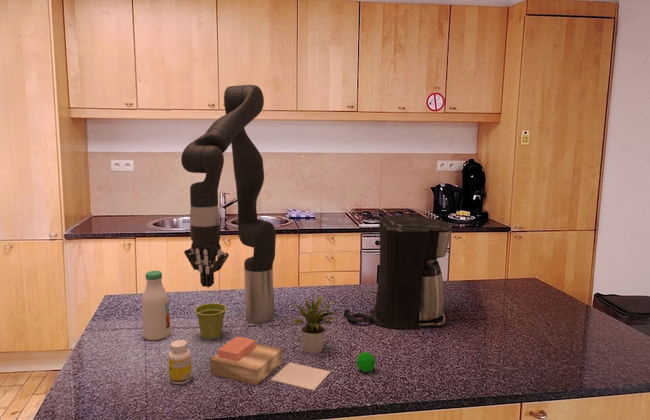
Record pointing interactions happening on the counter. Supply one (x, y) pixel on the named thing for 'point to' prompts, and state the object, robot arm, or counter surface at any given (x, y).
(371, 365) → the polyhedron
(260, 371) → the wooden block
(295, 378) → the mat
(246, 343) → the salmon orange flat block
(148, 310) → the milk bottle
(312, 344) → the house plant
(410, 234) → the coffee maker
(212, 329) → the plant pot
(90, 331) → the counter surface
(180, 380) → the supplement bottle
